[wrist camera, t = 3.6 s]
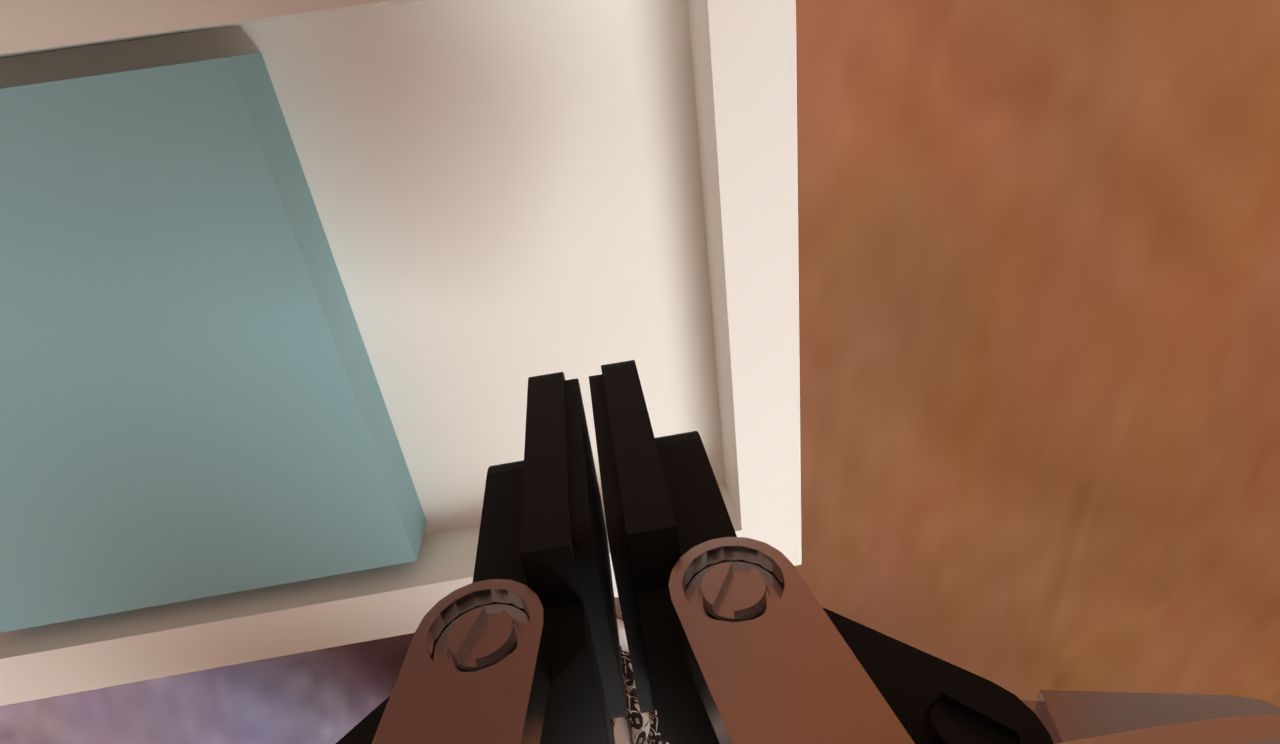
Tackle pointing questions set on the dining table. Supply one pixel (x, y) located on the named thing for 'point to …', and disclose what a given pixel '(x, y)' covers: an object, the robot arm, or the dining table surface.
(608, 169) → the white flat tray
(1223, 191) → the dining table surface
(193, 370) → the cover plate
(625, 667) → the decorative candle
